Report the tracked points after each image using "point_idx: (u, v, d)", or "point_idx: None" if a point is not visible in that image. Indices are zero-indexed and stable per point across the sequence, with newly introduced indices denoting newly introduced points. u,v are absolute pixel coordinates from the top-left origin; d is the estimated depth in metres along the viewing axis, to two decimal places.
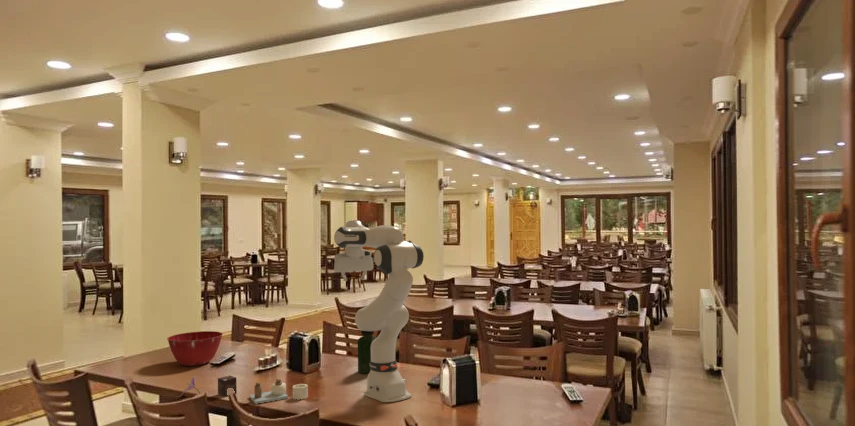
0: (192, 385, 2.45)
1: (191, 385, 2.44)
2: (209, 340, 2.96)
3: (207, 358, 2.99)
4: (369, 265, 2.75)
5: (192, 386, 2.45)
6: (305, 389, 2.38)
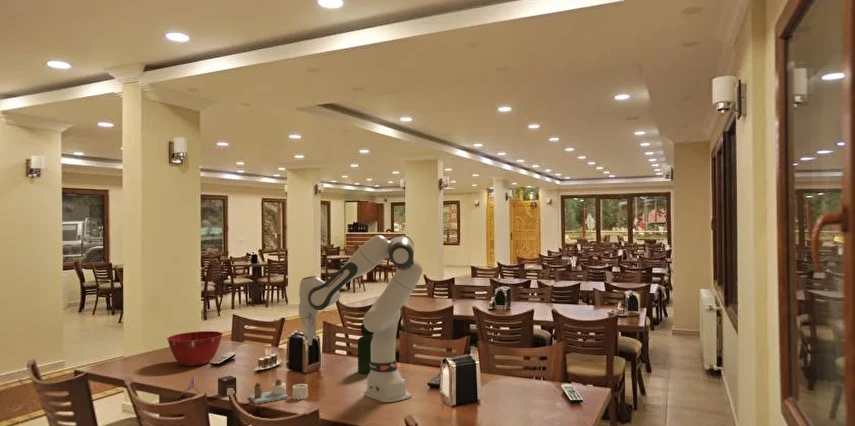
0: (192, 385, 2.44)
1: (191, 385, 2.44)
2: (209, 340, 2.96)
3: (207, 358, 2.99)
4: None
5: (192, 386, 2.45)
6: (305, 389, 2.38)
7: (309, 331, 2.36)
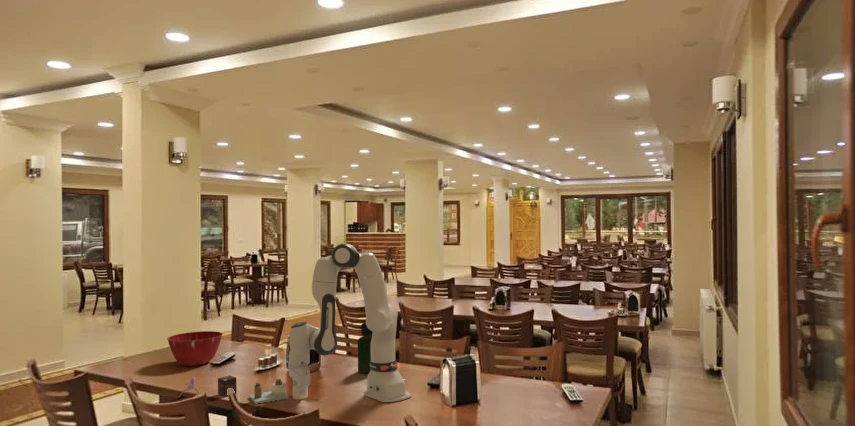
0: (191, 385, 2.44)
1: (190, 385, 2.44)
2: (209, 340, 2.96)
3: (207, 358, 2.99)
4: None
5: (191, 386, 2.44)
6: None
7: (304, 380, 2.31)
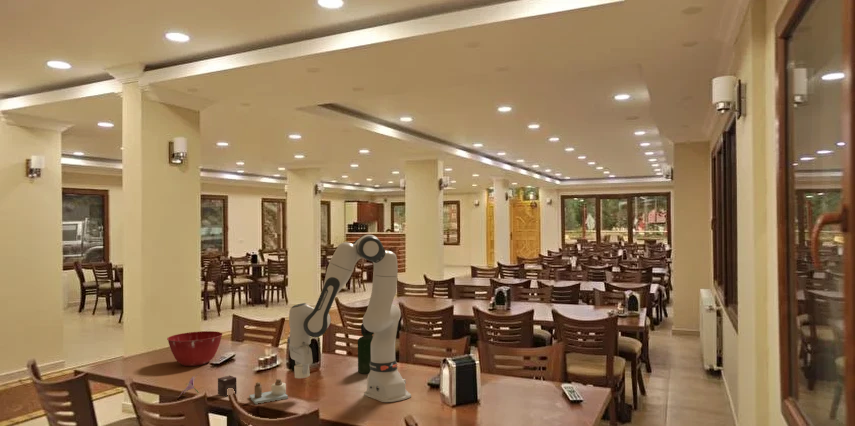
0: (191, 385, 2.44)
1: (190, 385, 2.44)
2: (209, 340, 2.96)
3: (207, 358, 2.99)
4: None
5: (191, 386, 2.44)
6: (307, 368, 2.39)
7: (306, 360, 2.31)
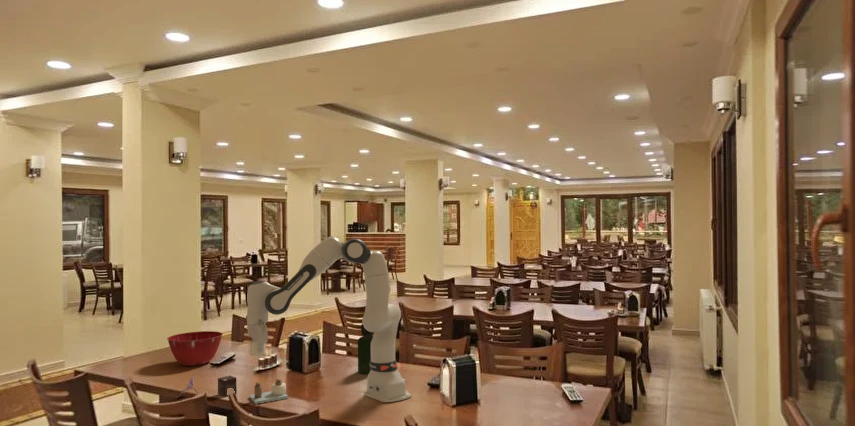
0: (190, 385, 2.44)
1: (189, 385, 2.43)
2: (209, 340, 2.96)
3: (207, 358, 2.99)
4: None
5: (190, 386, 2.44)
6: None
7: (261, 338, 2.29)
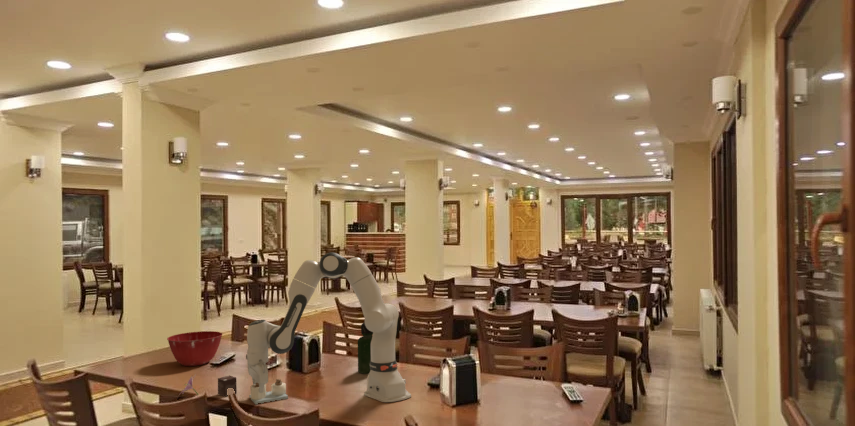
0: (189, 386, 2.44)
1: (188, 386, 2.43)
2: (209, 340, 2.96)
3: (207, 358, 2.99)
4: None
5: (189, 387, 2.44)
6: None
7: (261, 379, 2.28)
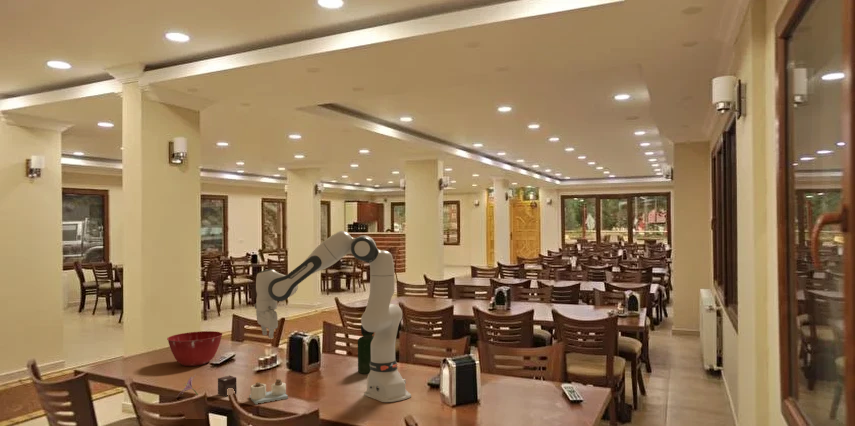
0: (189, 386, 2.44)
1: (188, 386, 2.43)
2: (209, 340, 2.96)
3: (207, 358, 2.99)
4: None
5: (189, 387, 2.44)
6: (263, 389, 2.36)
7: (271, 323, 2.36)
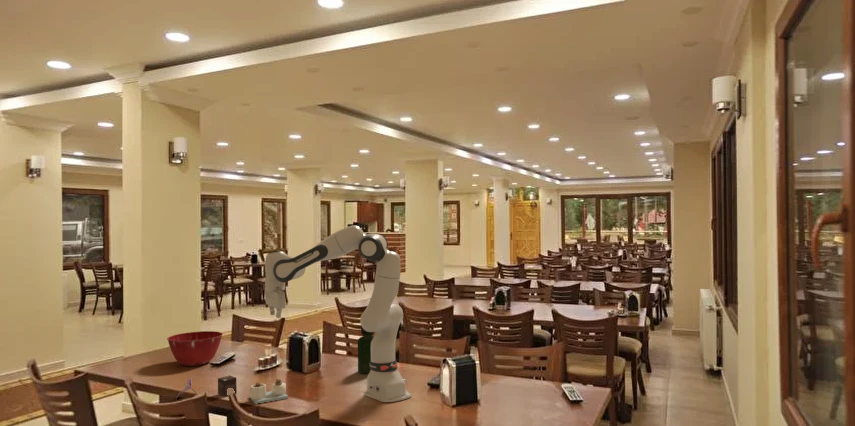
0: (188, 386, 2.44)
1: (187, 386, 2.43)
2: (209, 340, 2.96)
3: (207, 358, 2.99)
4: None
5: (188, 387, 2.44)
6: (263, 389, 2.36)
7: (279, 303, 2.42)
